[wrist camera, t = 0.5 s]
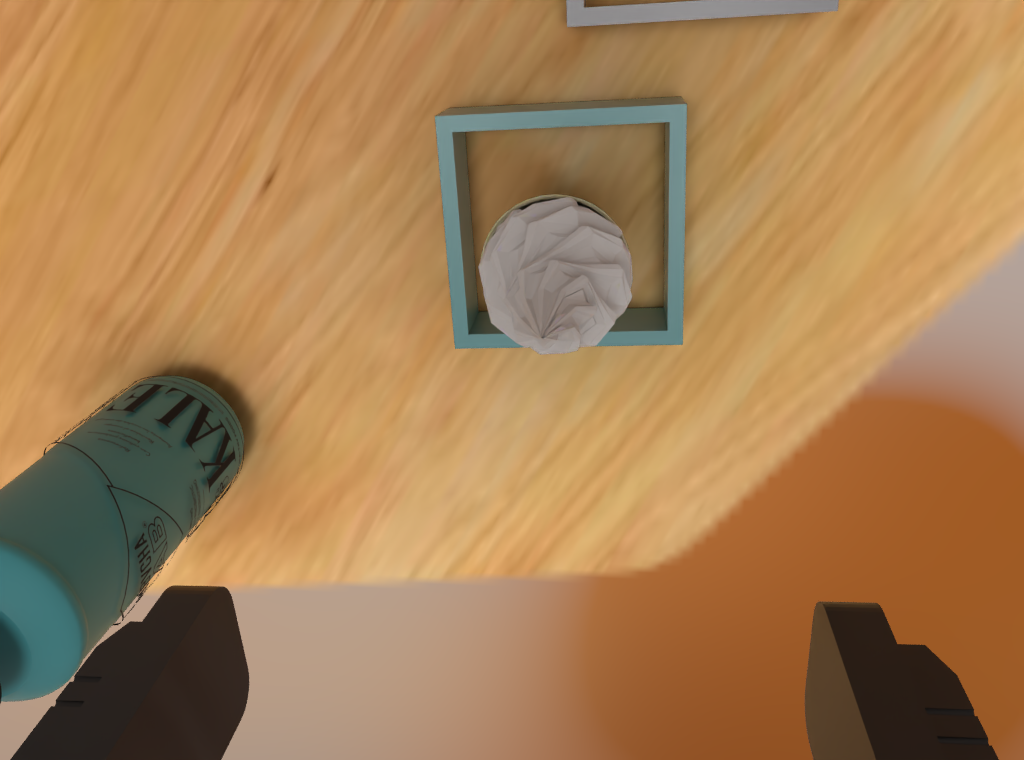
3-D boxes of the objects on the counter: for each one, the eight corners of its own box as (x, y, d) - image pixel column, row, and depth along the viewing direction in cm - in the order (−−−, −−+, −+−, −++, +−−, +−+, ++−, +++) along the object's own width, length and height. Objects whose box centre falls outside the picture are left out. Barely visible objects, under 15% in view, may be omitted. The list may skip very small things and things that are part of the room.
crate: (448, 108, 36) (434, 116, 33) (681, 96, 35) (686, 104, 32) (466, 324, 39) (454, 348, 36) (677, 320, 38) (682, 344, 35)
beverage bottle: (144, 477, 44) (-191, 813, 26) (118, 353, 41) (-273, 626, 23) (271, 482, 43) (20, 830, 25) (253, 355, 41) (-40, 638, 22)
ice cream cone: (653, 209, 36) (679, 332, 23) (573, 299, 38) (552, 463, 24) (559, 129, 35) (526, 205, 22) (482, 225, 37) (406, 351, 24)
